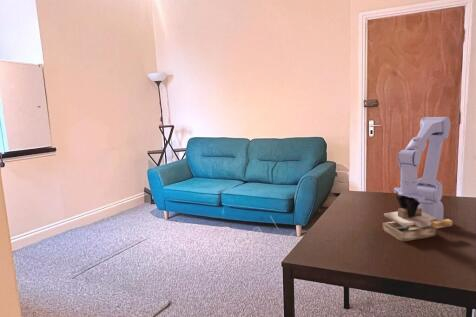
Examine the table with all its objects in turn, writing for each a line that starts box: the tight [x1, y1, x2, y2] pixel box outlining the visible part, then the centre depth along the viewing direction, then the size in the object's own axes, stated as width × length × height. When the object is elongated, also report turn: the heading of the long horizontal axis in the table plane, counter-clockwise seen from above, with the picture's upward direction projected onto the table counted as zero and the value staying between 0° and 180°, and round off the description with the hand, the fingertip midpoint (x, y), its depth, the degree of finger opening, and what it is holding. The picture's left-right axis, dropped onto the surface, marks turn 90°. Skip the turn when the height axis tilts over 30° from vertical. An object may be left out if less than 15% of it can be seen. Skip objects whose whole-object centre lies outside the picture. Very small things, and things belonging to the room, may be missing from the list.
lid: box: [383, 207, 437, 227], centre depth 130 cm, size 14×15×4 cm
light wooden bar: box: [431, 218, 453, 229], centre depth 126 cm, size 7×2×2 cm, turn 101°
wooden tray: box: [382, 220, 436, 242], centre depth 133 cm, size 14×12×3 cm
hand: (408, 215), depth 132 cm, fingers closed on lid, 3 cm apart
